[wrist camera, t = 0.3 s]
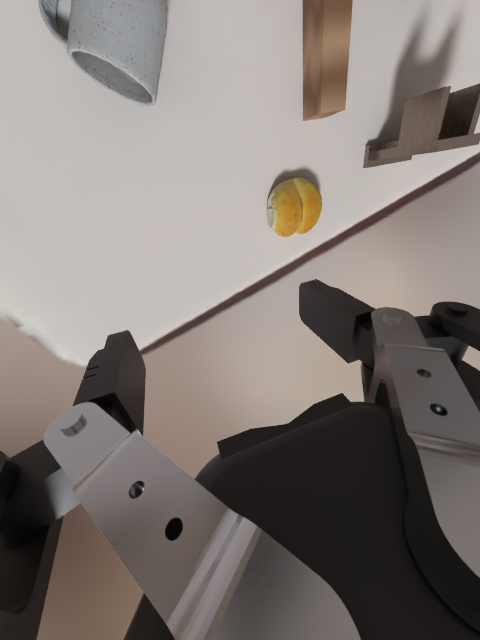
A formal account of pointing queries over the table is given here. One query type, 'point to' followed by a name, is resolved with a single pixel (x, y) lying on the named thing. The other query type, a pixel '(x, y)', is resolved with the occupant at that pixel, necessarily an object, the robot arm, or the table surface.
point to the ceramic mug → (115, 43)
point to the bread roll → (294, 207)
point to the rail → (325, 56)
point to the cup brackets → (431, 126)
